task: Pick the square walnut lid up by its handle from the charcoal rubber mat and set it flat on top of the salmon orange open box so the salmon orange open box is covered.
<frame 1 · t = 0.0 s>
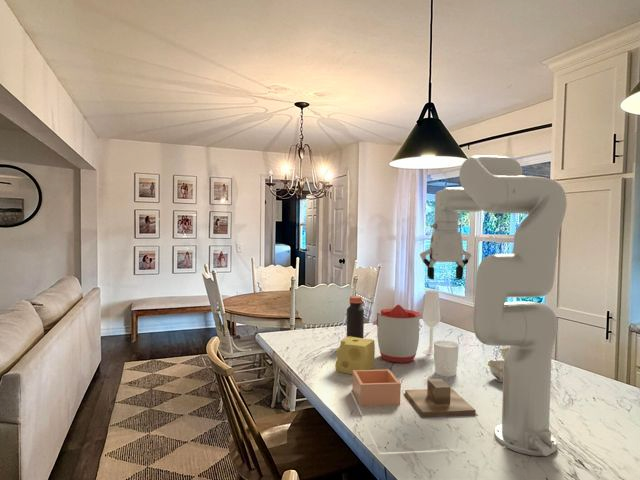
hand: (445, 278, 136), 31 cm above the table, tool pointing down, fingers open, 9 cm apart
cheese: (355, 370, 138), on the table
chinaware: (518, 376, 134), on the table
salmon orange open box: (375, 397, 115), on the table
citrus juicer: (395, 358, 150), on the table
champagne flute: (430, 352, 158), on the table
lid: (438, 403, 111), resting on mat
mat: (438, 404, 111), on the table
bottle: (354, 346, 165), on the table
white cup: (445, 374, 135), on the table
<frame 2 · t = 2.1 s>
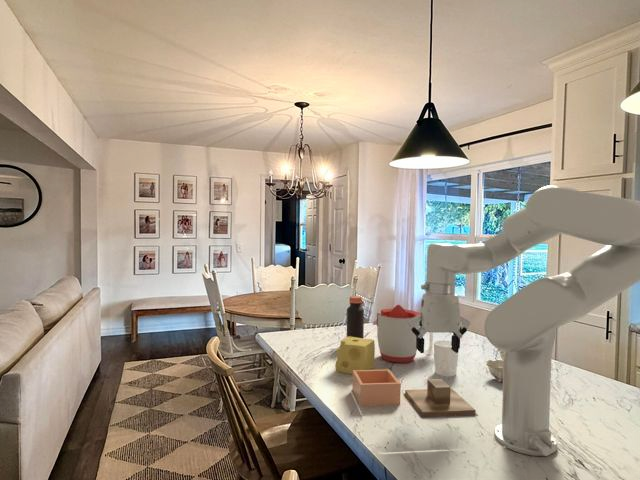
hand: (437, 351, 111), 15 cm above the table, tool pointing down, fingers open, 9 cm apart
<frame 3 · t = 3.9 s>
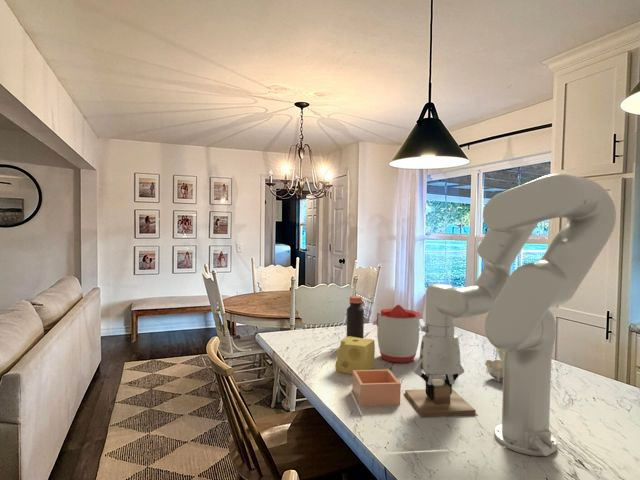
hand: (438, 396, 111), 2 cm above the table, tool pointing down, fingers closed on lid, 4 cm apart
lid: (438, 403, 111), resting on mat, touching gripper
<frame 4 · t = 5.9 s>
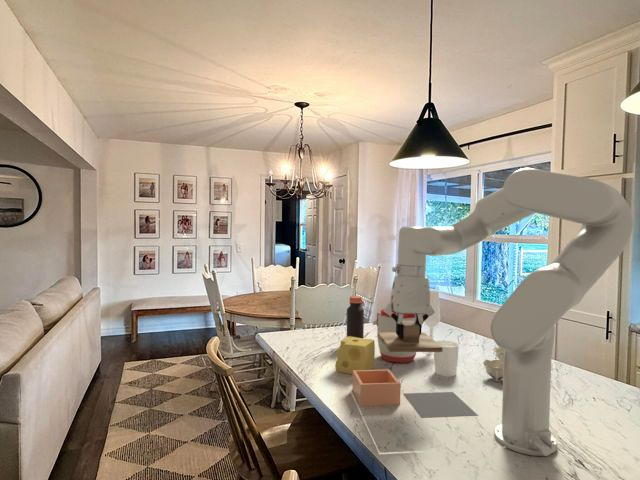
hand: (408, 336, 113), 18 cm above the table, tool pointing down, fingers closed on lid, 4 cm apart
lid: (408, 343, 113), point 16 cm above the table, touching gripper
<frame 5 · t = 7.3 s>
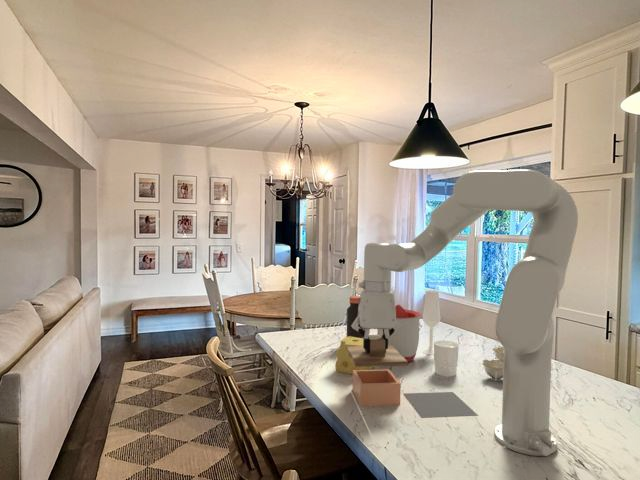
hand: (375, 350, 115), 13 cm above the table, tool pointing down, fingers closed on lid, 4 cm apart
lid: (375, 357, 115), point 11 cm above the table, touching gripper
when the fingers open (9 cm above the table, at t = 8.2 s): lid drops 1 cm, resting on salmon orange open box.
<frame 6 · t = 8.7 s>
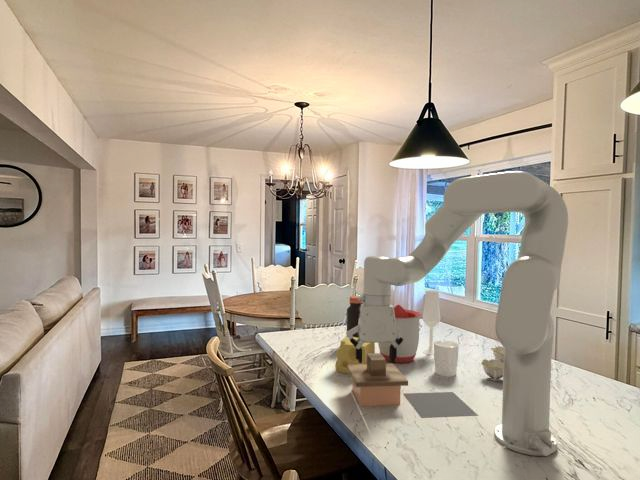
hand: (375, 361, 115), 10 cm above the table, tool pointing down, fingers open, 9 cm apart
lid: (375, 376, 115), point 6 cm above the table, touching salmon orange open box
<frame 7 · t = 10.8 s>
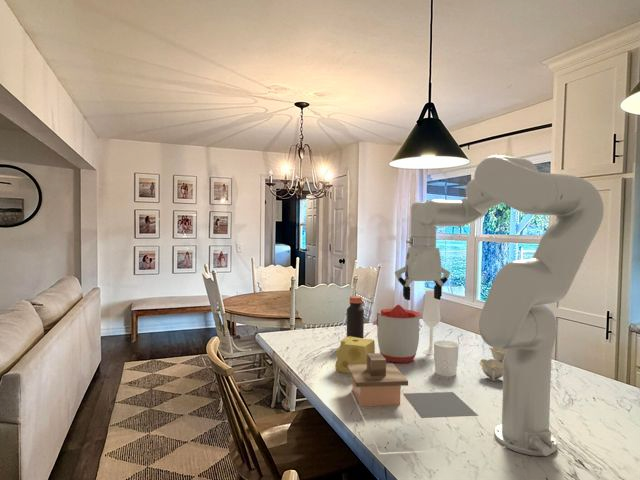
hand: (422, 299, 124), 26 cm above the table, tool pointing down, fingers open, 9 cm apart
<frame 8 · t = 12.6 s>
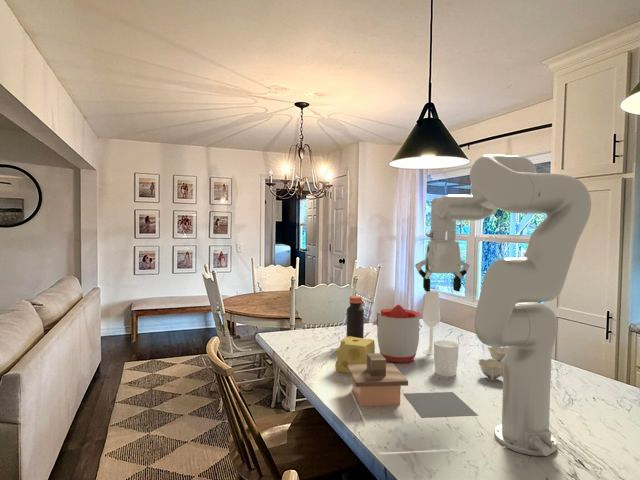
hand: (441, 290, 129), 28 cm above the table, tool pointing down, fingers open, 9 cm apart
at the end: lid 0.1 cm off-centre on the salmon orange open box, point 6.0 cm above the salmon orange open box's base; lid tilted 0°; lid touching salmon orange open box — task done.
